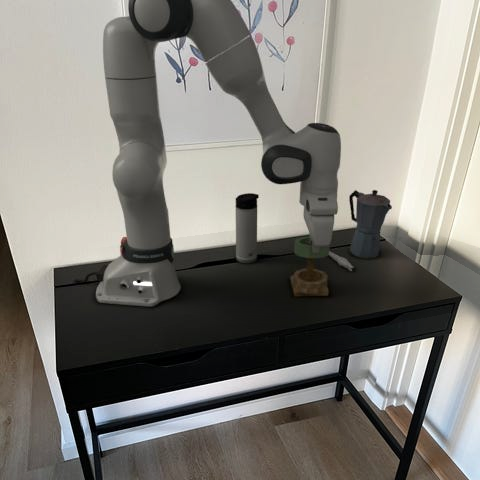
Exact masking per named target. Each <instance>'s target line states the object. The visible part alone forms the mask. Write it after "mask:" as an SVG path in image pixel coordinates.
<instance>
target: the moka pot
mask: <svg viewBox="0 0 480 480" xmlns="http://www.w3.org/2000/svg"><path fill="white" fill-rule="evenodd" d="M371 192H372V193H363V192H359V191H358V190H356V189H355V190H354V191H353V192H351V193H350V194H349V197H348V198H349V199H348V201H349V208H350V215H351V217H350V218H351V220H352V221H353V222H355V223H356V228H355V231H354V233H353V238H352V241H351V244H350V247H349V252H350V253H351V255H352V256H355V257H357V258H360V259H367V260H368V259H374V258H377V257H378V256H379V255H380V249H381V248H380V247H381V246H380V245H381V231H382V226H383V225H384V223H385V220H386V216H387V215H388V213H389V211H390V210H392V208H393V206H392V204H391V199H390V198H388V197H387V196H385V195H382V194H378V190H376V189H373V190H372V191H371ZM354 197H355V198H356V209H354V208H355V207H354ZM355 210H356V211H355ZM355 213H356V214H355Z"/></svg>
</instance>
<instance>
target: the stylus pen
mask: <svg viewBox="0 0 480 480" xmlns="http://www.w3.org/2000/svg"><path fill="white" fill-rule="evenodd" d="M328 256H329V257H331V259H333V260H334V261H335V262H337V264H338V265H339V266H341V267H342V268H345V269H348V271H349V272H353V269H354V268H355V267H354V266H353V265H352V263H351V262H349V261H348V259H347V258H345V257H344V256H340V255H337V254H336V253H335V252H332V251H330V250H329V254H328Z"/></svg>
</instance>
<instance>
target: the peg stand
mask: <svg viewBox="0 0 480 480" xmlns="http://www.w3.org/2000/svg"><path fill="white" fill-rule="evenodd" d="M308 245H310V241H309V244H308ZM306 259H307V260H306V261H307V262H306V269H307V273H306V280H304V281H307V282H316V281H313V270H314V269H315V258H306ZM293 276H294V275H290V279H289V280H290V285H291V288H292V292H293V297H327V296H329V292H330V291H329V288H328V286H327V287H326V290H325V291H323V292H320V293H318V294H305V293H302V292H299V291H297V290H296V289H295V288H294V287H293Z"/></svg>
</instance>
